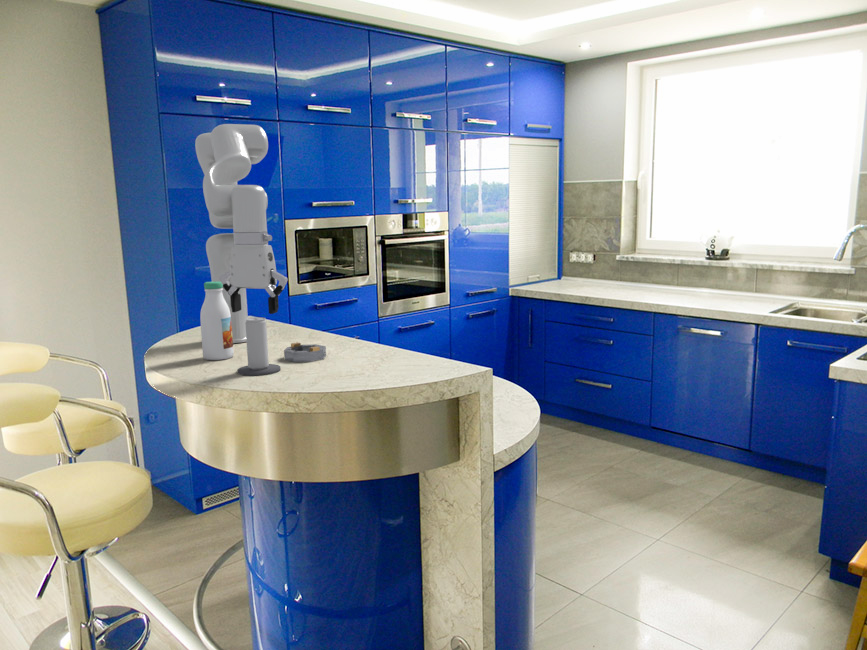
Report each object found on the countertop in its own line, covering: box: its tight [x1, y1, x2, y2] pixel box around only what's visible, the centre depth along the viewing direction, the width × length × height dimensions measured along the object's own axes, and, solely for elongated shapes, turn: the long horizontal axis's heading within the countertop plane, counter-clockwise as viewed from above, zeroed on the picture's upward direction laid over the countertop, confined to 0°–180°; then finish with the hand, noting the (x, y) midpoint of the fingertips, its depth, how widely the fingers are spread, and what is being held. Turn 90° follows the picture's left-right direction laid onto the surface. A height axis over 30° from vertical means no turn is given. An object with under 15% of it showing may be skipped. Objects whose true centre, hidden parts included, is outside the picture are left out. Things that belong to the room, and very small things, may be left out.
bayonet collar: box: [283, 342, 327, 363], centre depth 178 cm, size 10×10×3 cm
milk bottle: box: [199, 281, 235, 361], centre depth 178 cm, size 8×8×20 cm
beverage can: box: [245, 316, 270, 370], centre depth 163 cm, size 5×5×12 cm
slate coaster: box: [236, 363, 281, 377], centre depth 164 cm, size 10×10×1 cm
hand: (255, 312), depth 162 cm, fingers open, 9 cm apart
